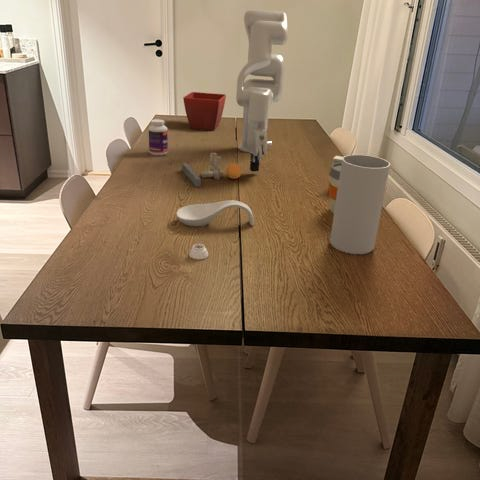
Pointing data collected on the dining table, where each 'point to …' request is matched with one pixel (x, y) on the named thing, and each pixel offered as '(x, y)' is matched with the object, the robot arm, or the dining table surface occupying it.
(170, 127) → the dining table surface
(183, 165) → the back wall
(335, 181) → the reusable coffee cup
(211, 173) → the front pin
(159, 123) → the pill bottle
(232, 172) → the ball
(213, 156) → the back right pin
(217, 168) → the back left pin
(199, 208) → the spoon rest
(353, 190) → the cylinder vase
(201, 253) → the white jar
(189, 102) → the plant pot
